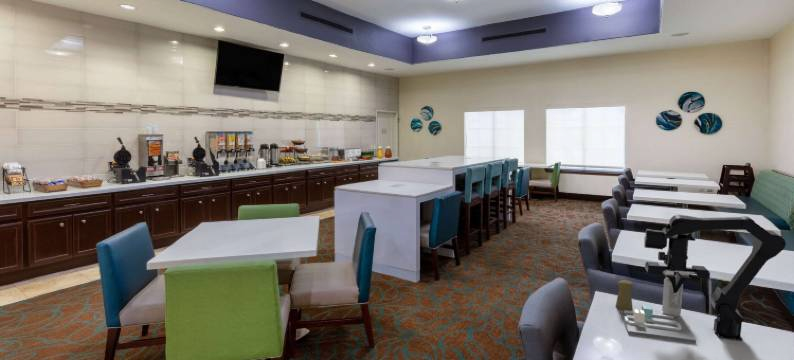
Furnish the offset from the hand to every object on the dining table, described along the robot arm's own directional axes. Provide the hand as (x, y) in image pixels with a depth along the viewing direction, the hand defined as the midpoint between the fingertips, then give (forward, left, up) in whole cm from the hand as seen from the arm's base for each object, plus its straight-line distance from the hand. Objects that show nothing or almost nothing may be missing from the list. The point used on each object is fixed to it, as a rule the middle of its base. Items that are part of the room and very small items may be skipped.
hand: (674, 292), depth 150 cm
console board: (+6, +4, -12) cm, 14 cm away
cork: (+14, -11, -13) cm, 22 cm away
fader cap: (+11, +4, -11) cm, 16 cm away
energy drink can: (-2, -10, -13) cm, 16 cm away
